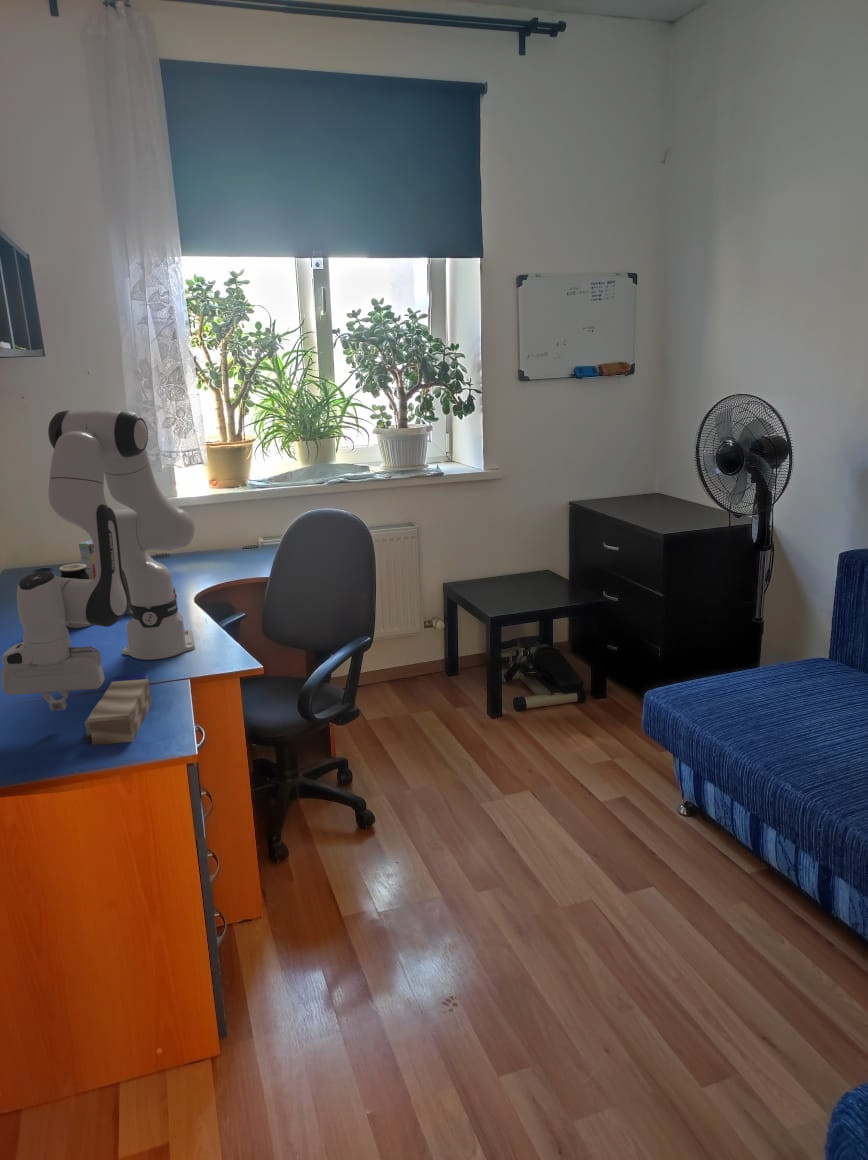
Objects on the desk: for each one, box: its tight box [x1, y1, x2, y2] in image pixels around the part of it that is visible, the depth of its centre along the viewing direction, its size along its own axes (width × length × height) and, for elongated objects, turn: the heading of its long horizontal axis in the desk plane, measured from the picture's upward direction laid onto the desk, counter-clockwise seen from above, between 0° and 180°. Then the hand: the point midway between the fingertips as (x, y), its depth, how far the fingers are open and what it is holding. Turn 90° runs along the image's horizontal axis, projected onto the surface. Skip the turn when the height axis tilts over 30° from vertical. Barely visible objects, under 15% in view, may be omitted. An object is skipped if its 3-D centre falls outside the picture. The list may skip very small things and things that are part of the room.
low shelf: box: [85, 678, 152, 746], centre depth 184 cm, size 20×10×6 cm, turn 7°
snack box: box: [78, 539, 96, 580], centre depth 305 cm, size 21×6×15 cm, turn 154°
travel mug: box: [58, 563, 93, 629], centre depth 251 cm, size 8×8×18 cm
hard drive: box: [109, 673, 148, 685], centre depth 205 cm, size 2×8×12 cm
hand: (58, 709), depth 183 cm, fingers closed
